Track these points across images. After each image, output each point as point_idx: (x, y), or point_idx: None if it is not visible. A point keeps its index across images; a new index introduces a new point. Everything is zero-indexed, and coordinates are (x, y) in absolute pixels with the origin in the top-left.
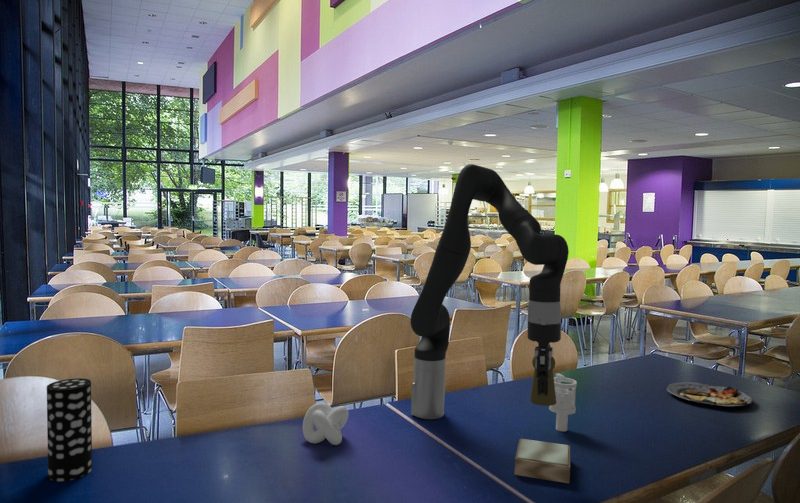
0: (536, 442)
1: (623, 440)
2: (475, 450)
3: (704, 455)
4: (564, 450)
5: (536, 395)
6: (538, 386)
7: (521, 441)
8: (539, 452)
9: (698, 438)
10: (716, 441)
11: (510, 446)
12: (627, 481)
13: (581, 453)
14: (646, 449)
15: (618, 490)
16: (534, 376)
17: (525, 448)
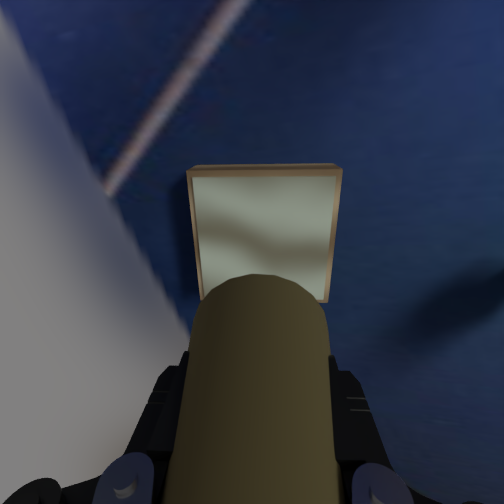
0: (317, 223)
1: (460, 383)
2: (317, 11)
3: (404, 472)
4: None
5: (194, 336)
6: (169, 397)
7: (312, 178)
8: (248, 234)
9: (483, 481)
10: (471, 496)
11: (376, 132)
12: None
13: (369, 306)
14: (416, 410)
15: None
16: (209, 436)
17: (262, 195)
